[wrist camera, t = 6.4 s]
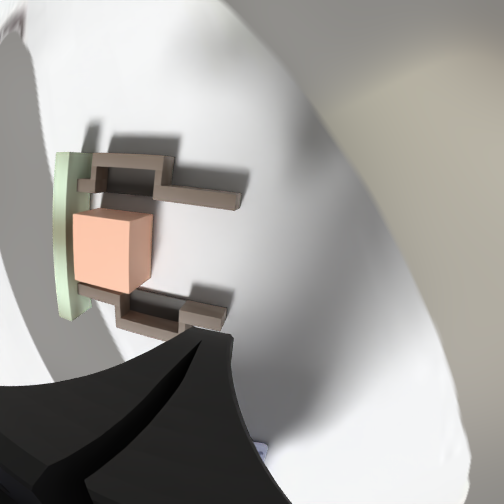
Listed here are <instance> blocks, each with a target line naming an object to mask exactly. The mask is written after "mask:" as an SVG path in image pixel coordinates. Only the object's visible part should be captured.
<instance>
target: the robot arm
mask: <svg viewBox="0 0 504 504" xmlns="http://www.w3.org/2000/svg"><path fill="white" fill-rule="evenodd" d="M233 340H234V338H233V337H232V336H231V334H226V333H220V332H215V331H210V330H205V329H201V328H196V327H191V328H189V329H187V330H185V331H184V332H182V333H180V334H178V335H177V336H175V337H173V338H172V339H170V340H168V341H166V342H165V343H163V344H161V345H159V346H157V347H155V348H154V349H152V350H150V351H148V352H146V353H144V354H142V355H139V356H137V357H135V358H133V359H131V360H129V361H127V362H124V363H122V364H120V365H117V366H115V367H112V368H109V369H106V370H104V371H100V372H98V373H94V374H91V375H87V376H83V377H79V378H74V379H70V380H65V381H60V382H55V383H48V384H40V385H29V386H0V504H292V503H291V502H290V500H289V499H288V498H287V497H286V495H285V494H284V493H283V491H282V490H281V488H280V487H279V486H278V484H277V483H276V481H275V480H274V478H273V477H272V475H271V473H270V472H269V470H268V469H267V467H266V466H265V464H264V460H265V457H266V453H267V450H268V446H267V445H266V444H264V443H258V442H253V441H252V439H251V437H250V435H249V432H248V430H247V427H246V425H245V422H244V420H243V417H242V414H241V411H240V408H239V405H238V401H237V398H236V394H235V389H234V385H233V379H232V372H231V357H232V348H233Z"/></svg>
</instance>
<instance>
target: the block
mask: <svg viewBox="0 0 504 504" xmlns="http://www.w3.org/2000/svg"><path fill="white" fill-rule="evenodd" d="M152 228H153V214H147V213H139V212H131V211H123V210H114V209H106V208H97V209H92V210H88V211H83V212H79V213H75V214H73V254H74V272H75V280H77V281H81V282H84V283H88V284H92V285H96V286H99V287H103V288H107V289H111V290H115V291H119V292H123V293H127V294H130V293H131V292H132V291H134V290H135V289H136V288H138V287H139V286H140V285H142V284H143V283H144V282H146V281H147V280H148V279H150V278H151V249H152Z"/></svg>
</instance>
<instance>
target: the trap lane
mask: <svg viewBox="0 0 504 504" xmlns="http://www.w3.org/2000/svg"><path fill="white" fill-rule="evenodd" d="M174 158H175V157H171V156H163V155H147V154H125V153H77V152H56V159H55V170H54V186H53V253H54V254H53V255H54V270H55V282H56V292H57V301H58V309H59V316H60V317H62V318H65V319H67V320H70V321H73V320H74V319H76V318H77V317H78V316H80V315H81V314H83V313H84V312H85V311H87V310H88V309H90V308H91V307H92V305H91V299H95V300H98V301H101V302H105V303H108V304H112V305H115V317H116V327H117V328H120V329H123V330H127V331H130V332H133V333H137V334H140V335H144V336H147V337H151V338H155V339H158V340H162V341H168V340H170V339H172V338H173V337H175V336H177V335H178V334H180V333H182V332H184V331H185V330H187V329H189V328H191V327H192V325H194V326H198V327H203V328H207V329H212V330H217V331H221V329H222V326H223V324H224V322H225V320H226V313H227V308H225V307H219V306H214V305H209V304H204V303H200V302H195V301H190V300H185V299H181V298H176V297H172V296H167V295H163V294H158V293H154V292H150V291H145V290H141V289H137V288H136V289H135V290H134V291H132V292H131V293H130V294H127V293H123V292H119V291H115V290H111V289H107V288H103V287H99V286H96V285H92V284H88V283H84V282H81V281H77V280H75V272H74V254H73V214H75V213H79V212H83V211H88V210H89V208H90V193H101V192H114V193H123V194H133V195H142V196H150V197H153V200H158V201H166V202H174V203H182V204H190V205H197V206H204V207H211V208H218V209H225V210H232V211H235V210H237V209H239V208H240V201H241V194H242V193H235V192H228V191H220V190H213V189H205V188H197V187H188V186H179V185H171V184H172V175H173V166H174Z"/></svg>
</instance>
